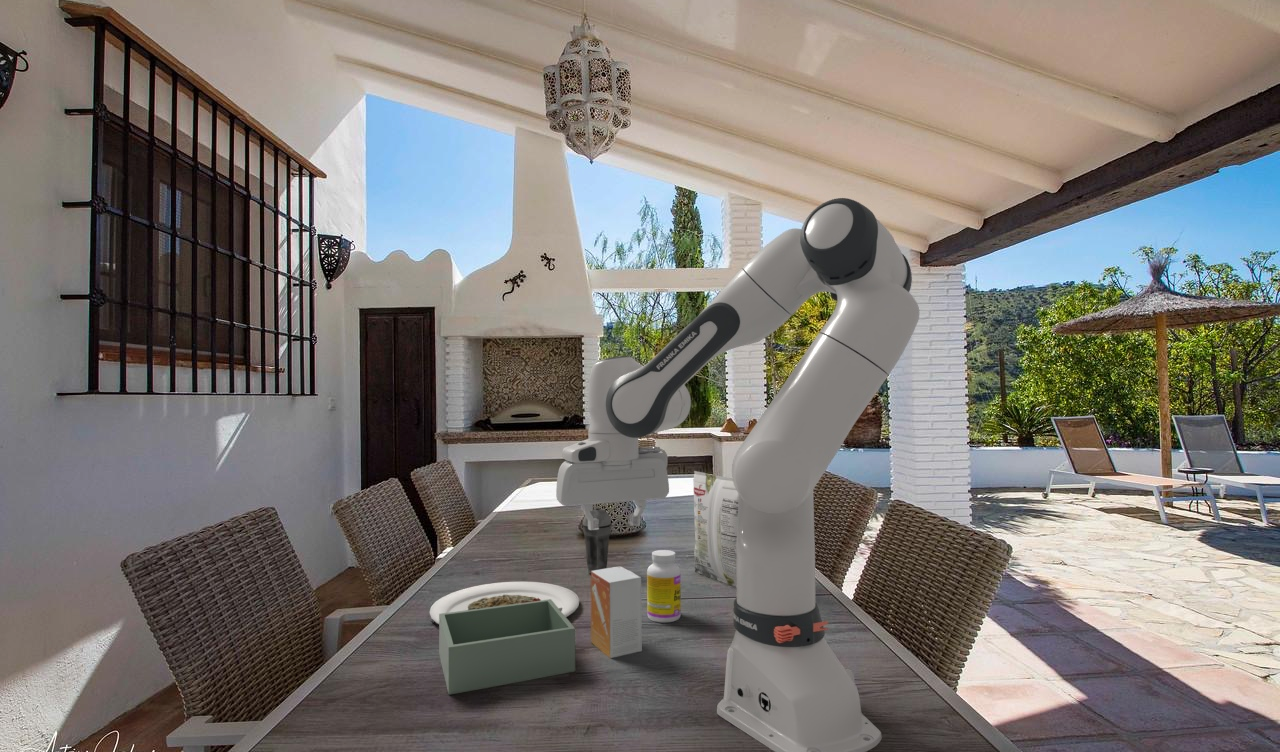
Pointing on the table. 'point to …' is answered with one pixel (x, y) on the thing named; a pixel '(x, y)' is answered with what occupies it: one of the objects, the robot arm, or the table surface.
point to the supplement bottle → (663, 588)
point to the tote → (504, 645)
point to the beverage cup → (597, 540)
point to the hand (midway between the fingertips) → (614, 527)
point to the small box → (616, 611)
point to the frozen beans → (715, 526)
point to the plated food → (505, 597)
